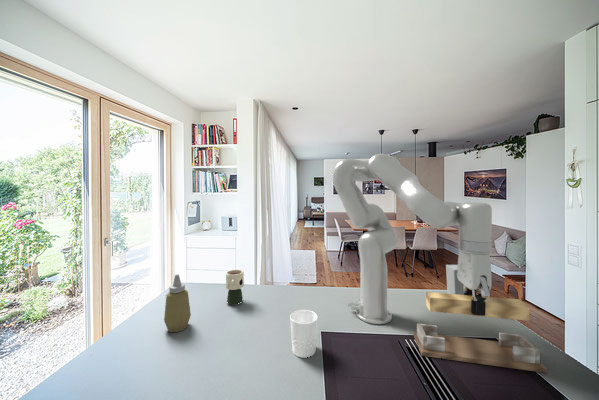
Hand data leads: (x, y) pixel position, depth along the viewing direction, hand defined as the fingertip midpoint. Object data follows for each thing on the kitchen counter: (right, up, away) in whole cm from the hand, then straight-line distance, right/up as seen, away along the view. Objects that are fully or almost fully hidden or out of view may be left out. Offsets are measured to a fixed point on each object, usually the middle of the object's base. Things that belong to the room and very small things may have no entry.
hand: (474, 310), depth 69 cm
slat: (0, -1, 0) cm, 1 cm away
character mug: (-76, -12, +31) cm, 83 cm away
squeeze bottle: (-91, -12, +13) cm, 92 cm away
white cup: (-48, -12, +1) cm, 50 cm away
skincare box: (+15, -12, +29) cm, 34 cm away
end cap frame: (0, -12, +1) cm, 12 cm away
